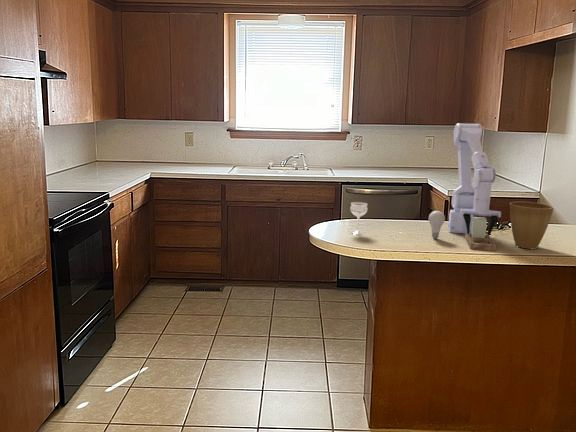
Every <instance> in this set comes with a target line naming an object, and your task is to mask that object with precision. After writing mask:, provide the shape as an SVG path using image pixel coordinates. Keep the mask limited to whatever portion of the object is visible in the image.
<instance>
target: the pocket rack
mask: <svg viewBox="0 0 576 432" xmlns="http://www.w3.org/2000/svg"><path fill="white" fill-rule="evenodd" d="M471 235H472V233H469V234H467V233H464V239H465V242H466V243H467V245H468V247H469V249H470V250H478V249H480V250H479V251H491V250H492V251H494V252H495V251H496V248H497V247H496V244H495V242H494V241H493V239H492V238H491V235H488V233H486V234H485V238H473V237H471ZM492 251H491V252H492Z"/></svg>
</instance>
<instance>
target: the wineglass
mask: <svg viewBox="0 0 576 432" xmlns="http://www.w3.org/2000/svg"><path fill="white" fill-rule="evenodd" d="M350 204H351V205H350V208H349V210H350V213H351V214H352V215H353V216H355V217H356V218H357V219H356V220H357V221H356V225H357V226H356V229H357V230H356V231H352V232H351V234H352V233H353V235H357V234H361V235H364V232H363V231H359V225H360V224H359V223H360V218H361V217H363V216H364V215H366V214H367V212H368V203H367V202H363V201H352V202H350Z"/></svg>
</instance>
